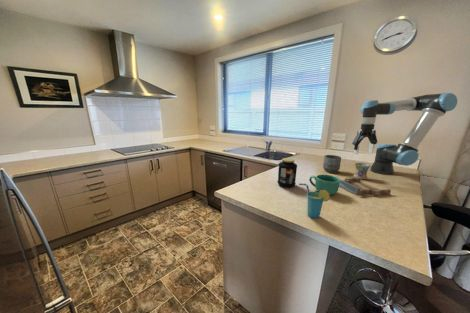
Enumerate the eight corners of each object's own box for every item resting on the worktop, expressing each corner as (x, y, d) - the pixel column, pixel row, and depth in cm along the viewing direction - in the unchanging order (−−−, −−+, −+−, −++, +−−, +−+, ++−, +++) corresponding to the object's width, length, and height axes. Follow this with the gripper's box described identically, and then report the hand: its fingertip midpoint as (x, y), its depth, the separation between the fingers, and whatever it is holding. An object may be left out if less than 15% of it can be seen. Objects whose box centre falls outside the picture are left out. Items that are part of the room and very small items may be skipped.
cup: (293, 213, 87) (296, 184, 84) (298, 207, 93) (301, 179, 90) (325, 224, 79) (330, 192, 76) (328, 216, 85) (333, 186, 82)
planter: (339, 170, 152) (341, 156, 149) (338, 174, 142) (340, 159, 139) (323, 168, 158) (325, 154, 155) (321, 172, 148) (323, 157, 145)
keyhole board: (359, 181, 129) (360, 175, 128) (389, 194, 108) (391, 187, 107) (333, 183, 124) (334, 177, 123) (360, 197, 104) (361, 190, 103)
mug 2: (369, 181, 129) (372, 166, 127) (354, 179, 132) (356, 165, 130) (364, 175, 140) (366, 162, 138) (350, 174, 143) (352, 161, 141)
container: (299, 184, 122) (300, 158, 118) (290, 190, 113) (292, 162, 109) (282, 180, 130) (283, 156, 126) (273, 185, 121) (274, 159, 117)
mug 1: (340, 192, 111) (342, 177, 108) (333, 199, 102) (336, 183, 100) (312, 185, 122) (314, 171, 120) (304, 190, 113) (306, 176, 111)
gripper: (376, 122, 133) (371, 151, 138) (348, 123, 126) (345, 153, 131) (387, 123, 126) (381, 153, 131) (358, 124, 119) (354, 156, 124)
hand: (363, 153), depth 131 cm, fingers open, 13 cm apart
